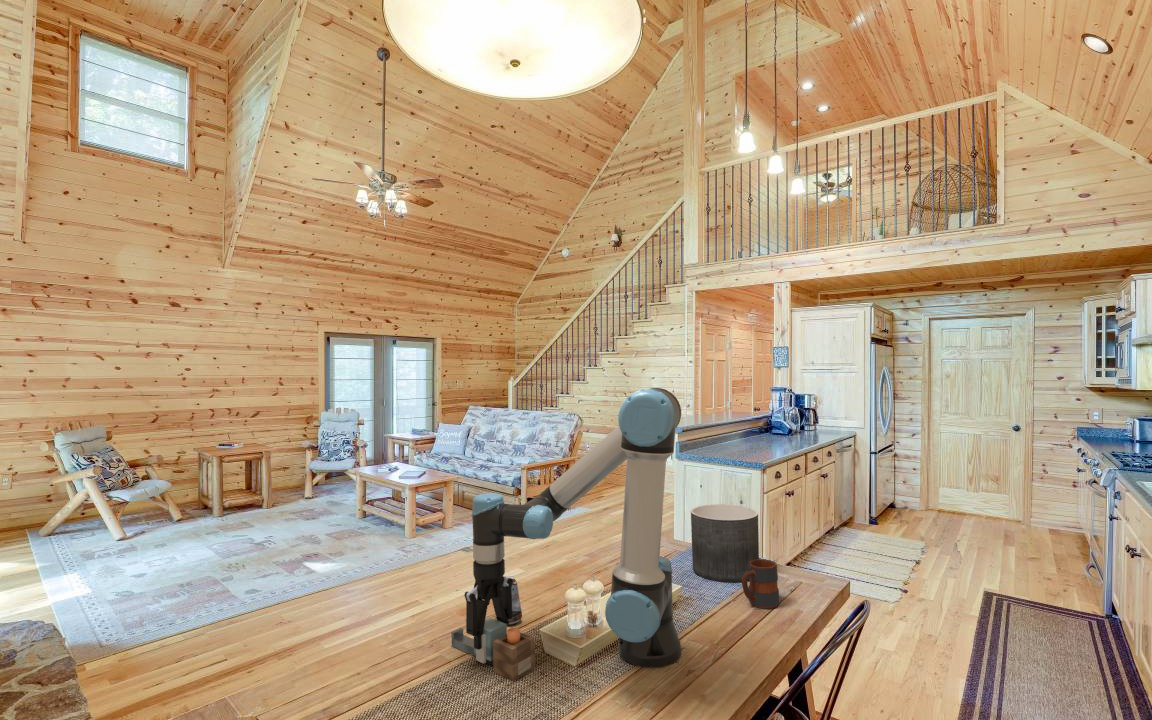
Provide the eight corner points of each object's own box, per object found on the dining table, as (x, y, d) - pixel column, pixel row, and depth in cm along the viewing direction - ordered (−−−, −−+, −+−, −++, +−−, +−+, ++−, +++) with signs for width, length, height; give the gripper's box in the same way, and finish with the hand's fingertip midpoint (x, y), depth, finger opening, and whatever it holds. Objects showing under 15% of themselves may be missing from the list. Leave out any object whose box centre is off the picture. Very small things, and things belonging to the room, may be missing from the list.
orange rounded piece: (523, 645, 133) (522, 630, 133) (513, 650, 131) (513, 635, 131) (514, 641, 135) (513, 626, 135) (504, 646, 133) (504, 631, 133)
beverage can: (518, 627, 155) (517, 583, 155) (492, 626, 156) (491, 581, 156) (525, 617, 161) (524, 574, 161) (500, 616, 162) (499, 573, 163)
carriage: (507, 652, 138) (506, 624, 138) (490, 661, 134) (490, 631, 134) (490, 645, 142) (489, 617, 142) (474, 653, 138) (473, 625, 138)
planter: (757, 562, 203) (755, 505, 203) (762, 585, 181) (760, 521, 182) (693, 558, 208) (691, 503, 208) (691, 580, 186) (689, 518, 187)
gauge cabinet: (535, 668, 133) (535, 638, 133) (513, 681, 128) (513, 649, 128) (515, 659, 138) (514, 630, 138) (493, 671, 132) (493, 641, 132)
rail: (509, 663, 136) (509, 648, 136) (500, 668, 134) (499, 653, 134) (461, 641, 148) (460, 627, 148) (451, 645, 145) (451, 631, 145)
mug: (733, 603, 168) (732, 563, 168) (764, 595, 173) (763, 556, 173) (753, 614, 160) (752, 572, 160) (786, 606, 165) (785, 565, 165)
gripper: (506, 546, 148) (507, 637, 147) (448, 566, 134) (450, 666, 133) (526, 552, 143) (528, 646, 143) (469, 573, 129) (471, 677, 129)
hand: (490, 656), depth 138 cm, fingers closed on carriage, 5 cm apart
